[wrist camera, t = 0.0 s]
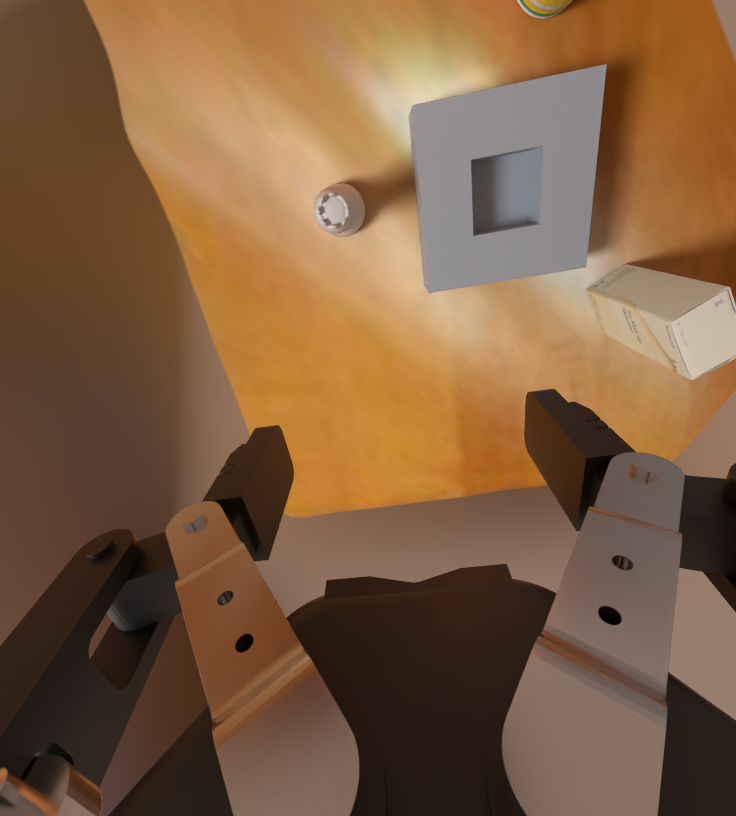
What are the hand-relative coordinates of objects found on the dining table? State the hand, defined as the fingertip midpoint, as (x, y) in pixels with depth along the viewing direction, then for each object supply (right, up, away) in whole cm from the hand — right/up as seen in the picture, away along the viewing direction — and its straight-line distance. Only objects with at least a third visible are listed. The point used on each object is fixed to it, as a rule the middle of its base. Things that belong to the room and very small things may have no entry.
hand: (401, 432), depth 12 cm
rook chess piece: (-4, +20, +23) cm, 30 cm away
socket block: (+10, +20, +22) cm, 32 cm away
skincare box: (+25, +12, +26) cm, 38 cm away
